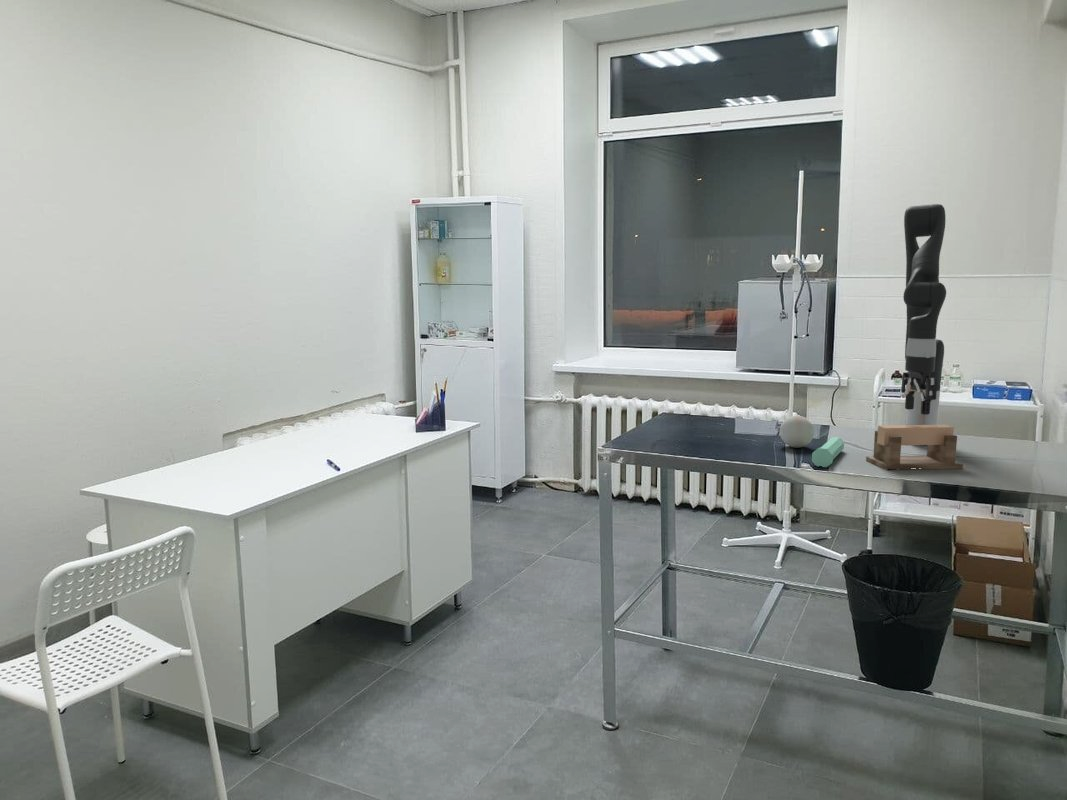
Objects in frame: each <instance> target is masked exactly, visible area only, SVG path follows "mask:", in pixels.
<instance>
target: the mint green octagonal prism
mask: <svg viewBox="0 0 1067 800" xmlns="http://www.w3.org/2000/svg"><path fill="white" fill-rule="evenodd" d="M844 449H845V441H844V440H843V439H842V438H841V437H840V436H839V437H838V436H832V437H831V438H830V439H829V440H828V441H826V442H825V443H824V444H823V445H822V446H821V447H818V448H816V450H814V451H813V452H812V453H811V462H812V463H813V465H815V466H816V467H819V466H822V468H828V467H829V466H830V465H831V464H832V463H833V462H834V461H833V460H835V458H836V457H837V456H838V455H839V454H840V453H841V452H842V451H843V450H844Z"/></svg>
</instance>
